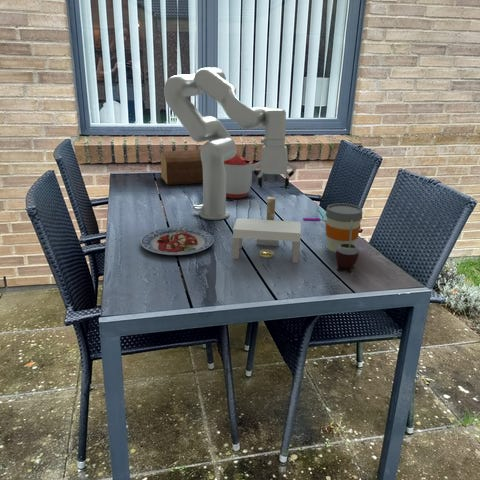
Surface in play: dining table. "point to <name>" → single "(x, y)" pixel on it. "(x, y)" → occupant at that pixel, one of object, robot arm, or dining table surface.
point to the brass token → (266, 253)
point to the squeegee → (316, 218)
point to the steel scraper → (269, 217)
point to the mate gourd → (346, 255)
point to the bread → (181, 167)
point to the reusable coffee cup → (342, 224)
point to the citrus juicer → (238, 177)
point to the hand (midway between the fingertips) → (273, 187)
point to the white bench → (266, 233)
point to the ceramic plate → (177, 241)
